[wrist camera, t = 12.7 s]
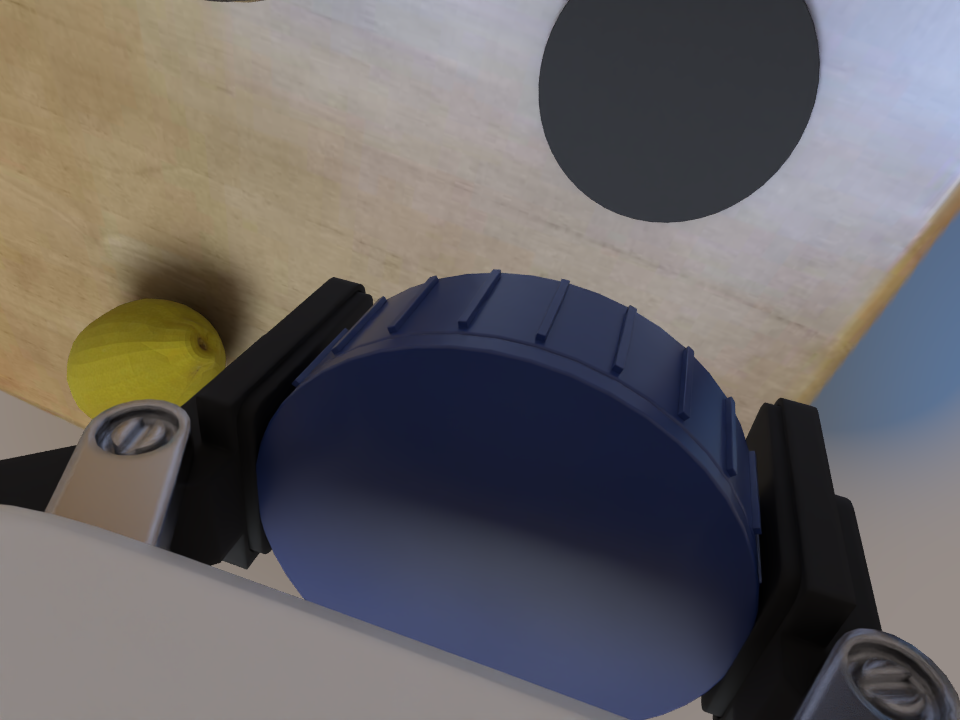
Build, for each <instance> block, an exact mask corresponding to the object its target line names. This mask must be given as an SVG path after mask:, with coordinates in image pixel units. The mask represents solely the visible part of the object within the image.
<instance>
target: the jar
mask: <svg viewBox="0 0 960 720" xmlns="http://www.w3.org/2000/svg"><path fill="white" fill-rule="evenodd" d="M207 1H218V2H256V1H263V0H207Z"/></svg>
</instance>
